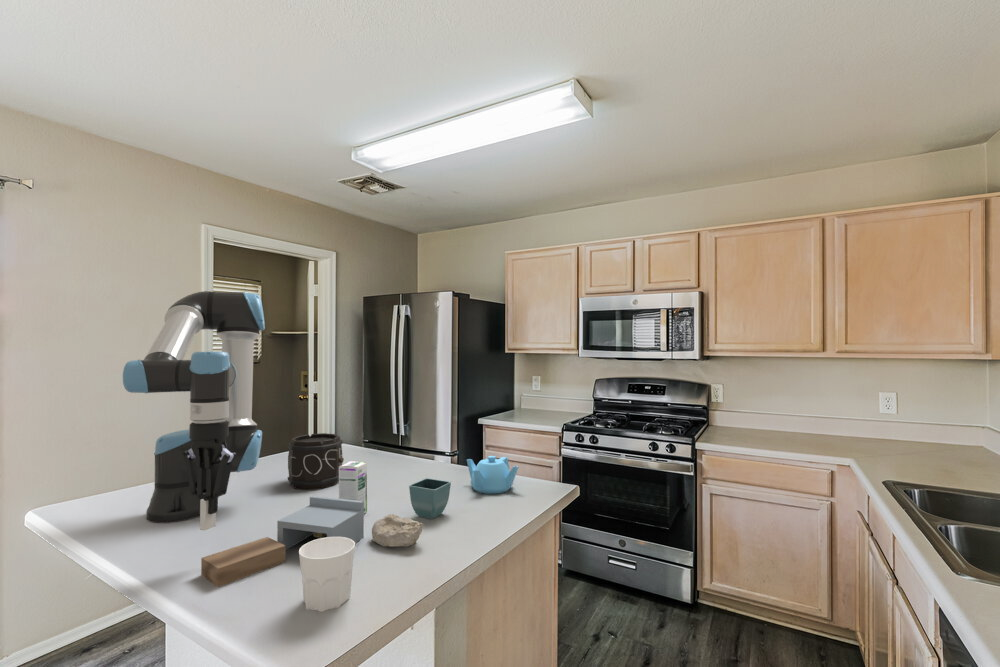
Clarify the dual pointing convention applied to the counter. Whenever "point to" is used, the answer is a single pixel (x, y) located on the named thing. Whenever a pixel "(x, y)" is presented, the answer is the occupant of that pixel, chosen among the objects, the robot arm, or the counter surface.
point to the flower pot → (429, 497)
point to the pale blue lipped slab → (323, 521)
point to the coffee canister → (314, 461)
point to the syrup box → (353, 482)
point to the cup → (326, 572)
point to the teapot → (491, 475)
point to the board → (242, 561)
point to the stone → (396, 531)
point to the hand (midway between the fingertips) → (207, 527)
